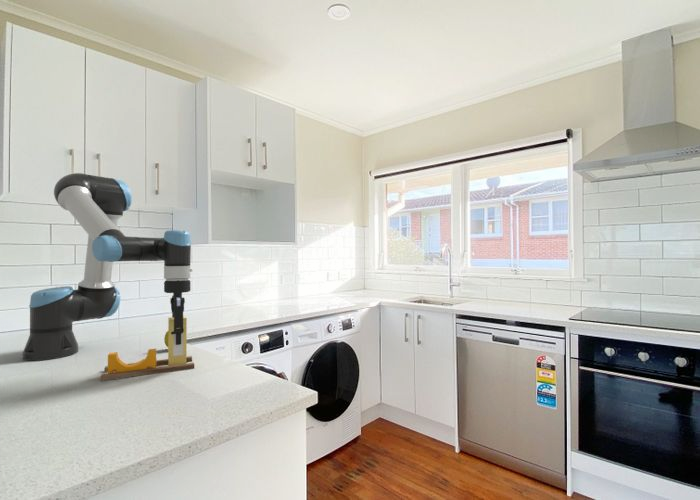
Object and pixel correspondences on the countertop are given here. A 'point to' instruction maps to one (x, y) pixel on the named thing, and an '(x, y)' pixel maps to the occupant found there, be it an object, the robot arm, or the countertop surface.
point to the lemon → (166, 339)
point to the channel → (148, 370)
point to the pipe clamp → (122, 367)
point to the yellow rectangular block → (172, 359)
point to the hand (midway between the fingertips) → (177, 351)
